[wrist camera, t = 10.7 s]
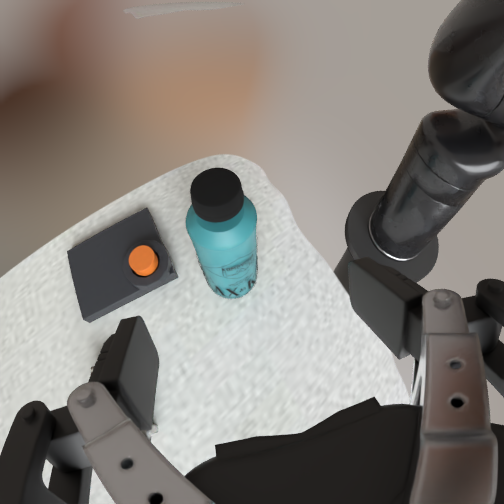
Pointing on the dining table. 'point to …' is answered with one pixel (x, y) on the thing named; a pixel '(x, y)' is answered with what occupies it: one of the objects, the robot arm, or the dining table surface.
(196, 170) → the dining table surface
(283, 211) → the dining table surface
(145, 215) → the scale
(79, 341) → the dining table surface
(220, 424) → the dining table surface
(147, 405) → the robot arm
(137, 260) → the button
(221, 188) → the beverage bottle
